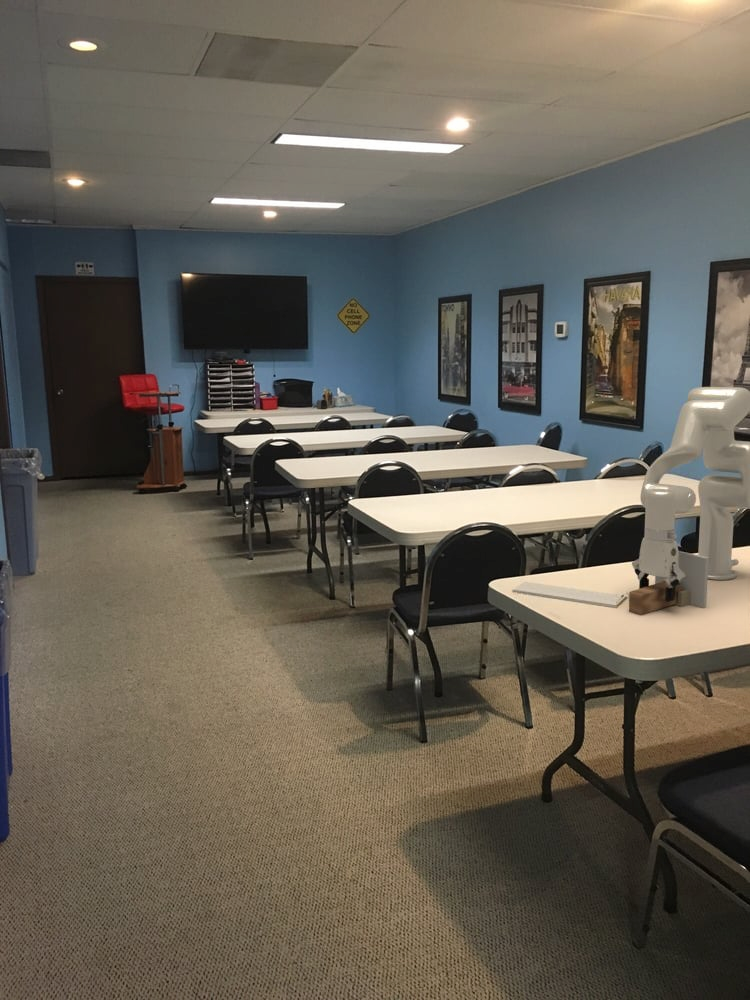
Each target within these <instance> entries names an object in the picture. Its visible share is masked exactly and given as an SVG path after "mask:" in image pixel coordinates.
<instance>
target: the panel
mask: <svg viewBox="0 0 750 1000" xmlns="http://www.w3.org/2000/svg"><path fill="white" fill-rule="evenodd" d="M678 553H679V568H680V569H681V570H682V571H683V573H684V574H685V575H686V576H685V578H684V579H683V580H682V582H681V583H680V592H678V603H676V604H673V606H676V607H680V608H681V607H682V608H683V607H685V606H689V605H690V606H691V605H692V606H694V607H699V608H702V609H704V608H707V599H708V598H707V597H708V581H709V579H708V562H709V558H708V557H704V556H699V555H698V554H694V553H689V552H684V551H680V550H678ZM676 578H677V576H675V579H676ZM663 581H665V579H664V578H660V577H657V576H654V584H656V583H660V582H663ZM670 581H671V579H670Z"/></svg>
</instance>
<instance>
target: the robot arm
mask: <svg viewBox="0 0 750 1000" xmlns="http://www.w3.org/2000/svg"><path fill="white" fill-rule="evenodd" d="M749 412H750V391H749V389H747V388H745V387H738V386H737V387H736V386H735V387H733V386H727V387H726V386H724V387H723V386H700V387H695V388H693V389H690V391H689V392H688V394H687V402H685V403H684V404H683V406H682V407H681V409H680V412H679V416H678V419H677V422H676V426H675V429H674V434H673V437H672V440H671V442H670V443H671V444H670V447H669V448H668V449H667V450H666V451H665V452H663V453H662V454H660V456H659V457H657V458H656V459H655V460H654V461H653V462H652V463H651V465H650V466H649V467H648V469H647V471H646V473H645V477H644V480H643V483H642V487H641V491H640V496H639V497H640V503H641V505H642V506H643V508H645V509H644V510H645V513H644V514H645V515H644V517H645V518H644V537H643V538H642V540H641V544H640V549H639V558H638V559H635V560H634V561H632V562H631V565H632V568H633V570H634V573H635V575H636V576H637V579H638V580H639V586H638V589H640V588H644V587H647V586H650V578H648V577H649V575H650V576H653V577H655V576H657V577H660V578H664V579H665V581H666V584H667V586H668V587H666V591H665V601H666V602H670V601H673V600H675V589H676V586H678V584H680V583H681V582H682V580H683V579H684V578H685V576H686V575H685V574H684V573H683V571H682V570H681V569H680V568H679V553H678V551H679V548H678V547H679V546H678V542H677V540H676V539H677V538H678V534H677V533H675V525H676V524H675V522H676V521H675V520H676V514H677V515H681V514H682V515H683V514H687V513H689V512H690V511H692V509H693V508H694V506H695V505H696V501H697V497H696V493H695V491H694V489H692V488H690V487H688V486H685V485H674V484H668V483H666V484H665V483H660V481H661V480H662V478H663V477H664V475H666V473H668V472H669V471H670V470H673V469H675V468H678V467H680V466H683V465H685V464H688V463H692V462H694V461H697V460H698V459H700V458H701V456H703V465H704V467H705V468H706V469H707V470H709V471H713V472H722V473H723V472H725V473H734V474H739V475H740V476H739V475H738V476H737V475H730V474H729V475H728V474H718V473H717V474H715V473H714V474H708V475H706V476H704V477H702V478H701V479H700V480H699V482H698V486H697V491H698V498H699V499H698V500H699V513H700V514H699V534H698V536H699V537H698V553H697V555H699V556H704V557H708V558H709V562H708V580H713V581H725V580H726V581H727V580H728V581H729V580H732V579H735V578H736V576H737V572H736V571H735V570H733V569H732V568H733V567H734V566H737V565H739V563H740V562H739V560H738V559H737V558H736V559H732V556H733V555H732V553H733V540H734V539H733V537H734V523H735V522H734V517H733V515H732V513H731V512H730V510H729V509H728V508H737V509H750V441H748V440H747V441H743V440H735V427H736V426H737V425H738V424H739V423H740V422H741V421H742V420H743V419H744V418H745V417H746V416H747V415H748V413H749ZM675 576H677V578H676V579H675ZM670 579H671V581H670Z"/></svg>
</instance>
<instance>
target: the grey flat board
mask: <svg viewBox="0 0 750 1000" xmlns="http://www.w3.org/2000/svg"><path fill="white" fill-rule="evenodd" d="M511 591H512V593H514V592H517V593H516V594H521V593H523V594H522V595H527V594H529V595H528V596H535V597H541V598H548V599H554V600H561V601H567V602H573V603H580V604H588V605H594V606H600V607H605V608H612V609H617V608H618V607H620V605H622V604H623V603H624V602H625V601H626V600H627V599H628V597H629V592H628V591H627V592H626V593H625V594H623V593H622V594H621V595H620V594H613V593H608V592H607V593H606V592H599V591H593V590H586V589H585V590H584V589H579V588H571V587H565V586H557V585H550V584H543V583H538V582H537V583H535V582H530V581H524V582H522V583H521V584H519V585H517V586H516V587H514V588H512V589H511Z"/></svg>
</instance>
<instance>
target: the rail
mask: <svg viewBox="0 0 750 1000" xmlns="http://www.w3.org/2000/svg"><path fill="white" fill-rule="evenodd" d="M666 587H668V586H667V584H666V581H663V582H660V583H656V584H655V583H654V584H649V586H647V587H644V588H640V589H639V588H638V589H635V590H631V591H629V592H628V594H629V596H628V612H630V613H631V614H632V613H633V614H636V615H640V616H642V615H647V614H649V613H651V612H652V613H653V612H654V611H657V610H661V609H663V608H666V607H669V606H672V605H673V604H676V603H678V592H680V584H678V586H676V589H675V600H673V601H670V602H666V601H665V591H666ZM673 606H674V605H673Z"/></svg>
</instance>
